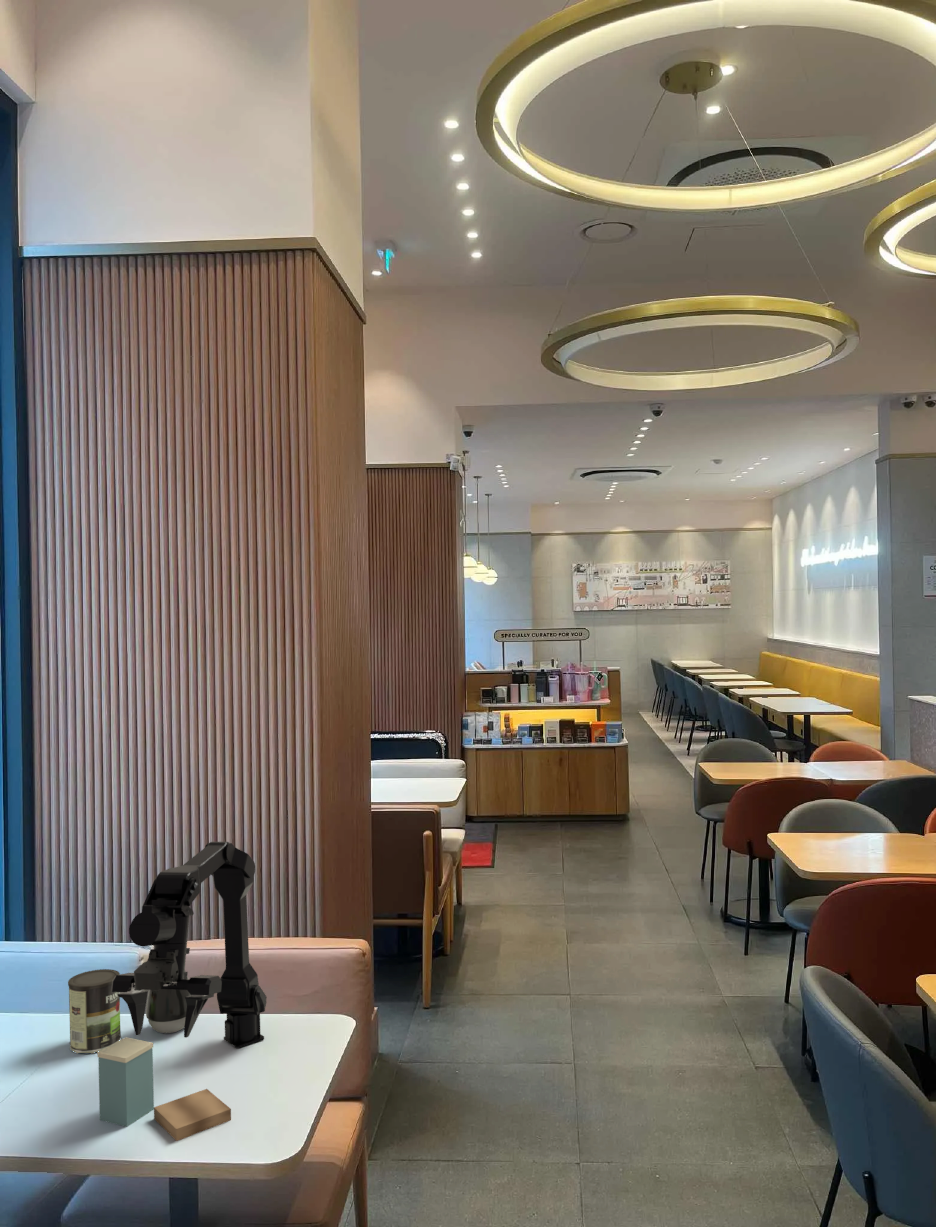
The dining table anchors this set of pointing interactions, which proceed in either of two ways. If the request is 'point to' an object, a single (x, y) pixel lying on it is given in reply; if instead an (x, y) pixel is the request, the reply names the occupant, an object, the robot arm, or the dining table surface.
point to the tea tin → (126, 1081)
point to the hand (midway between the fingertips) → (162, 1036)
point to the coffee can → (93, 1011)
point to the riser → (192, 1114)
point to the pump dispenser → (167, 1009)
